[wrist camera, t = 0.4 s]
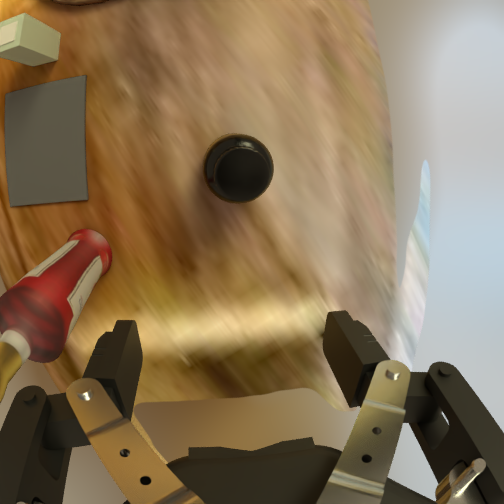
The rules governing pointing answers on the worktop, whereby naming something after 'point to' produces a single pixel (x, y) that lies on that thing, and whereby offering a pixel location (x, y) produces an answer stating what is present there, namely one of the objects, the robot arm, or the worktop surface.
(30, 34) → the block
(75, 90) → the mat
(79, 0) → the trivet
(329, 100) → the worktop surface
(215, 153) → the supplement bottle
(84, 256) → the red sauce bottle
